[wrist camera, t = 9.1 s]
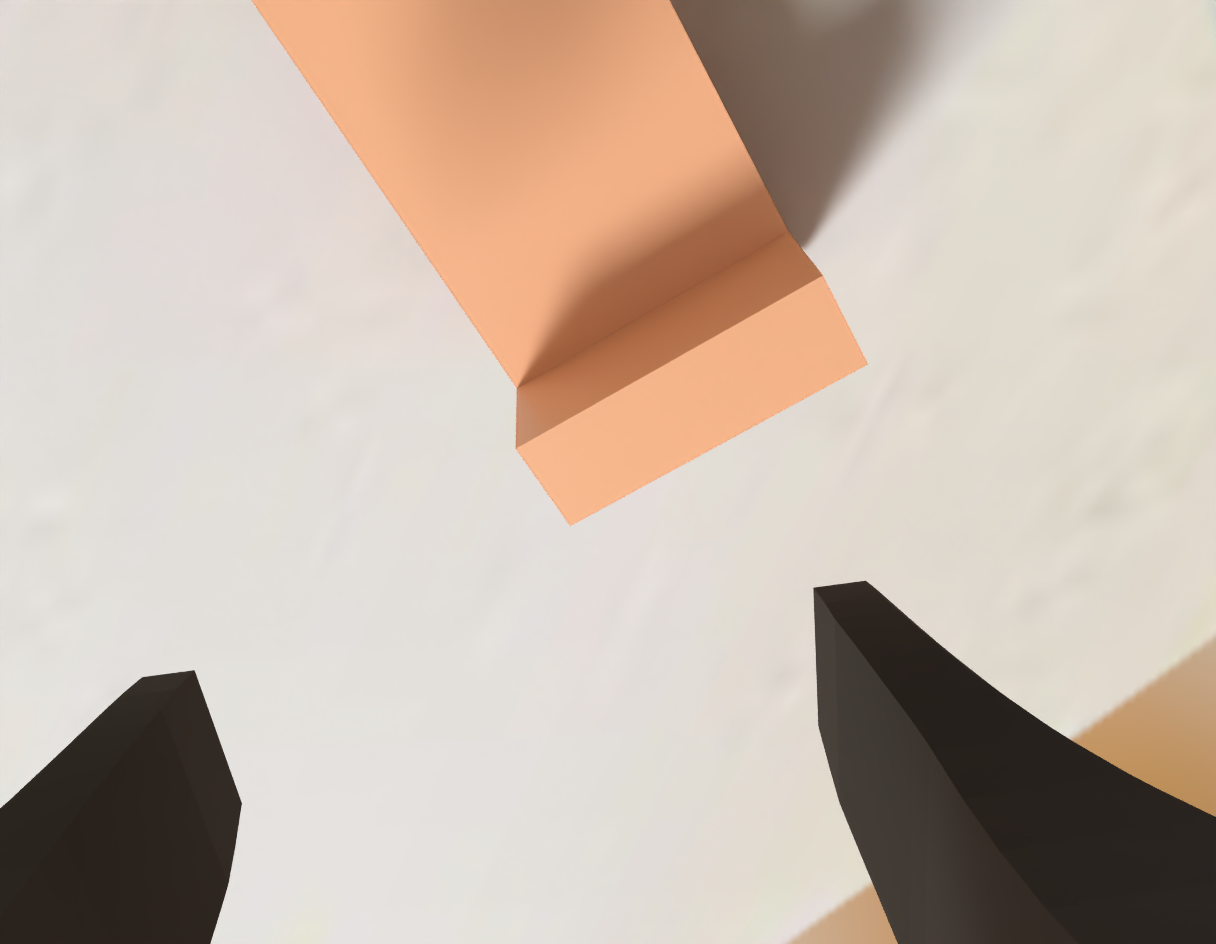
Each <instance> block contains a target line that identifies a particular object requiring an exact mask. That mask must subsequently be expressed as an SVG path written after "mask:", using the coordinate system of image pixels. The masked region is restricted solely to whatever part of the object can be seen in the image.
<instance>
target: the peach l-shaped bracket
mask: <svg viewBox="0 0 1216 944" xmlns="http://www.w3.org/2000/svg"><path fill="white" fill-rule="evenodd" d="M251 1H252V2H253V3H254V5H255V6H256V8H257V9H258V11H259V12H260V14H261V15H262V17H263V18H264V20H265V21H266V22H267V24H268V25H269V27H270V28H271V30H272V31H273V33H274V34H275V36H276V37H277V39H278V40H279V41H280V43H281V44H282V46H283V47H284V49H285V50H286V52H287V53H288V55H289V56H290V58H291V59H292V60H293V62H294V63H295V65H296V66H297V68H298V69H299V71H300V72H301V74H302V75H303V77H304V78H305V79H306V81H307V82H308V84H309V85H310V87H311V88H312V90H313V91H314V93H315V94H316V96H317V97H318V98H319V100H320V101H321V103H322V104H323V106H324V107H325V109H326V110H327V112H328V113H329V115H330V116H331V117H332V119H333V120H334V122H335V123H336V125H337V126H338V128H339V129H340V131H341V132H342V134H343V135H344V136H345V138H346V139H347V141H348V142H349V144H350V145H351V147H352V148H353V150H354V151H355V153H356V154H357V155H358V157H359V158H360V160H361V161H362V163H363V164H364V166H365V167H366V169H367V170H368V172H369V173H370V174H371V176H372V177H373V179H374V180H375V182H376V183H377V185H378V186H379V188H380V189H381V191H382V192H383V193H384V195H385V196H386V198H387V199H388V201H389V202H390V204H391V205H392V207H393V208H394V210H395V211H396V212H397V214H398V215H399V217H400V218H401V220H402V221H403V223H404V224H405V226H406V227H407V229H408V230H409V231H410V233H411V234H412V236H413V237H414V239H415V240H416V242H417V243H418V245H419V246H420V248H421V249H422V250H423V252H424V253H425V255H426V256H427V258H428V259H429V261H430V262H431V264H432V265H433V267H434V268H435V270H436V271H437V272H438V274H439V275H440V277H441V278H442V280H443V281H444V283H445V284H446V286H447V287H448V289H449V290H450V291H451V293H452V294H453V296H454V297H455V299H456V300H457V302H458V303H459V305H460V306H461V308H462V309H463V310H464V312H465V313H466V315H467V316H468V318H469V319H470V321H471V322H472V324H473V325H474V327H475V328H476V329H477V331H478V332H479V334H480V335H481V337H482V338H483V340H484V341H485V343H486V344H487V346H488V347H489V348H490V350H491V351H492V353H493V354H494V356H495V357H496V359H497V360H498V362H499V363H500V365H501V366H502V367H503V369H504V370H505V372H506V373H507V375H508V376H509V378H510V379H511V381H512V382H513V384H514V385H515V386H516V388H517V407H516V450H517V451H518V453H519V454H520V455H521V457H522V458H523V460H524V461H525V463H526V464H527V465H528V467H529V468H530V470H531V471H532V472H533V474H534V475H535V477H536V478H537V480H538V481H539V482H540V484H541V485H542V487H543V488H544V490H545V491H546V492H547V494H548V495H549V497H550V498H551V499H552V501H553V502H554V504H555V505H556V507H557V508H558V509H559V511H560V512H561V514H562V515H563V516H564V518H565V519H566V521H567V522H568V524H569V525H570V526H571V525H573V524H575V523H577V522H579V521H580V520H582V519H584V518H586V517H588V516H590V515H591V514H593V513H595V512H597V511H599V510H601V509H602V508H604V507H606V506H608V505H610V504H612V503H613V502H615V501H617V500H619V499H621V498H623V497H625V496H626V495H628V494H630V493H632V492H634V491H636V490H637V489H639V488H641V487H643V486H645V485H647V484H648V483H650V482H652V481H654V480H656V479H658V478H659V477H661V476H663V475H665V474H667V473H669V472H671V471H672V470H674V469H676V468H678V467H680V466H682V465H683V464H685V463H687V462H689V461H691V460H693V459H694V458H696V457H698V456H700V455H702V454H704V453H706V452H707V451H709V450H711V449H713V448H715V447H717V446H718V445H720V444H722V443H724V442H726V441H728V440H729V439H731V438H733V437H735V436H737V435H739V434H740V433H742V432H744V431H746V430H748V429H750V428H752V427H753V426H755V425H757V424H759V423H761V422H763V421H764V420H766V419H768V418H770V417H772V416H774V415H775V414H777V413H779V412H781V411H783V410H785V409H786V408H788V407H790V406H792V405H794V404H796V403H798V402H799V401H801V400H803V399H805V398H807V397H809V396H810V395H812V394H814V393H816V392H818V391H820V390H821V389H823V388H825V387H827V386H829V385H831V384H832V383H834V382H836V381H838V380H840V379H842V378H844V377H845V376H847V375H849V374H851V373H853V372H855V371H856V370H858V369H860V368H862V367H864V366H866V365H867V364H868V363H867V361H866V359H865V357H864V355H863V353H862V351H861V349H860V347H859V345H858V343H857V341H856V340H855V338H854V336H853V334H852V332H851V330H850V328H849V326H848V324H847V322H846V320H845V318H844V316H843V314H842V312H841V310H840V308H839V306H838V304H837V302H836V300H835V298H834V296H833V294H832V292H831V290H830V288H829V286H828V285H827V283H826V281H825V279H824V277H823V275H822V274H821V272H820V271H819V270H818V269H817V267H816V266H815V265H814V264H813V262H812V261H811V260H810V258H809V257H808V256H807V255H806V253H805V252H804V251H803V249H802V248H801V247H800V246H799V244H798V243H797V242H796V241H795V239H794V238H793V237H792V235H791V234H790V233H789V231H788V229H787V228H786V226H785V224H784V222H783V220H782V218H781V216H780V214H779V212H778V210H777V208H776V206H775V204H774V202H773V200H772V198H771V196H770V195H769V193H768V191H767V189H766V187H765V185H764V183H763V181H762V179H761V177H760V175H759V173H758V171H757V169H756V167H755V165H754V163H753V161H752V160H751V158H750V156H749V154H748V152H747V150H746V148H745V146H744V144H743V142H742V140H741V138H740V136H739V134H738V132H737V130H736V128H735V126H734V125H733V123H732V121H731V119H730V117H729V115H728V113H727V111H726V109H725V107H724V105H723V103H722V101H721V99H720V97H719V95H718V93H717V91H716V90H715V88H714V86H713V84H712V82H711V80H710V78H709V76H708V74H707V72H706V70H705V68H704V66H703V64H702V62H701V60H700V58H699V57H698V55H697V53H696V51H695V49H694V47H693V45H692V43H691V41H690V39H689V37H688V35H687V33H686V31H685V29H684V27H683V25H682V23H681V22H680V20H679V18H678V16H677V14H676V12H675V10H674V8H673V6H672V4H671V2H670V0H251Z"/></svg>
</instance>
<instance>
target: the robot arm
mask: <svg viewBox="0 0 1216 944" xmlns="http://www.w3.org/2000/svg"><path fill="white" fill-rule="evenodd" d="M813 589H814V616H815V644H816V672H817V699H818V726H819V730H820V734H821V737H822V741H823V745H824V748H825V752H826V756H827V760H828V763H829V767H830V771H831V774H832V778H833V781H834V785H835V788H836V792H837V795H838V799H839V802H840V805H841V807H842V810H843V812H844V815H845V817H846V820H847V822H848V825H849V827H850V829H851V832H852V834H853V837H854V839H855V842H856V844H857V846H858V849H859V851H860V854H861V856H862V859H863V861H864V863H865V866H866V868H867V871H868V873H869V875H870V878H871V880H872V883H873V885H874V887H875V890H876V892H877V895H878V897H879V899H880V902H881V904H882V907H883V909H884V911H885V913H886V916H887V918H888V921H889V923H890V926H891V928H892V930H893V933H894V935H895V938H896V940H897V942H898V944H1216V817H1214V816H1212V815H1211V814H1208V813H1206V812H1204V811H1202V810H1200V809H1198V808H1196V807H1194V806H1192V805H1190V804H1188V803H1186V802H1184V801H1182V800H1180V799H1177V798H1175V797H1173V796H1171V795H1169V794H1167V793H1165V792H1163V791H1161V790H1159V789H1157V788H1155V787H1153V786H1151V785H1149V784H1147V783H1145V782H1143V781H1142V780H1140V779H1138V778H1135V777H1133V776H1132V775H1130V774H1128V773H1127V772H1125V771H1123V770H1121V769H1119V768H1118V767H1116V766H1114V765H1113V764H1111V763H1109V762H1107V761H1106V760H1104V759H1102V758H1101V757H1099V756H1097V755H1095V754H1093V753H1092V752H1090V751H1088V750H1087V749H1085V748H1083V747H1082V746H1080V745H1078V744H1076V743H1075V742H1073V741H1071V740H1070V739H1068V738H1067V737H1065V736H1064V735H1062V734H1060V733H1059V732H1057V731H1056V730H1054V729H1052V728H1051V727H1049V726H1048V725H1046V724H1045V723H1043V722H1042V721H1040V720H1039V719H1038V718H1036V717H1035V716H1033V715H1032V714H1030V713H1029V712H1027V711H1026V710H1025V709H1023V708H1022V707H1020V706H1019V705H1017V704H1016V703H1014V702H1013V701H1012V700H1010V699H1009V698H1007V697H1006V696H1005V695H1003V694H1002V693H1001V692H999V691H998V690H996V689H995V688H994V687H992V686H991V685H990V684H989V683H987V682H986V681H985V680H984V679H982V678H981V677H980V676H978V675H977V674H976V673H975V672H973V671H972V670H971V669H970V668H968V667H967V666H966V665H965V664H963V663H962V662H961V661H959V660H958V659H957V658H956V657H954V656H953V655H952V654H951V653H950V652H948V651H947V650H946V649H945V648H943V647H942V646H941V645H940V644H939V643H937V642H936V641H935V640H934V639H933V638H932V637H930V636H929V635H928V634H927V633H926V632H925V631H923V630H922V629H921V628H920V627H919V626H918V625H916V624H915V623H914V622H913V621H912V620H911V619H910V618H908V617H907V616H906V615H905V614H904V613H903V612H902V611H900V610H899V609H898V608H897V607H896V606H895V605H894V604H893V603H891V602H890V601H889V600H888V599H887V598H886V597H885V596H883V595H882V594H881V593H880V592H879V591H878V590H877V589H875V588H874V587H873V586H872V585H870V584H869V583H868V582H867V581H861V582H853V583H846V584H838V585H831V586H823V587H816V588H813ZM241 805H242V803H241V800H240V797H239V794H238V791H237V788H236V786H235V783H234V780H233V777H232V774H231V772H230V769H229V766H228V763H227V760H226V758H225V755H224V752H223V749H222V746H221V744H220V741H219V738H218V735H217V732H216V729H215V727H214V724H213V721H212V718H211V715H210V713H209V710H208V707H207V704H206V701H205V699H204V696H203V693H202V690H201V687H200V685H199V682H198V679H197V676H196V673H195V670H193V671H186V672H178V673H171V674H163V675H156V676H148V677H142V678H141V679H140V680H138V681H137V682H136V683H135V684H134V685H132V686H131V687H130V688H129V689H128V690H127V691H125V692H124V693H123V694H122V695H121V696H120V697H119V698H118V699H117V700H115V701H114V702H113V703H112V704H111V705H110V706H109V707H108V708H107V709H106V710H105V711H104V712H103V713H102V714H100V715H99V716H98V717H97V718H96V719H95V720H94V721H93V722H92V723H91V724H90V725H89V726H88V727H87V728H86V729H85V730H84V731H83V732H82V733H80V734H79V735H78V736H77V737H76V738H75V739H74V740H73V741H72V742H71V743H70V744H69V745H68V746H67V747H66V748H65V749H64V750H63V751H62V752H61V753H59V754H58V755H57V756H56V757H55V758H54V759H53V760H52V761H51V762H50V763H49V764H48V765H47V766H46V767H45V768H44V769H42V770H41V771H40V772H39V773H38V774H37V775H36V776H35V777H34V778H33V779H32V780H31V781H30V782H29V783H28V784H26V785H25V786H24V787H23V788H22V789H21V790H20V791H19V792H18V793H17V794H16V795H15V796H14V797H13V798H11V799H10V800H9V801H8V802H7V803H6V804H5V805H4V806H2V807H1V808H0V944H210V943H211V940H212V936H213V933H214V930H215V927H216V924H217V920H218V917H219V914H220V911H221V907H222V904H223V901H224V897H225V894H226V890H227V887H228V883H229V878H230V872H231V867H232V861H233V856H234V850H235V844H236V838H237V831H238V825H239V818H240V812H241Z"/></svg>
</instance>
